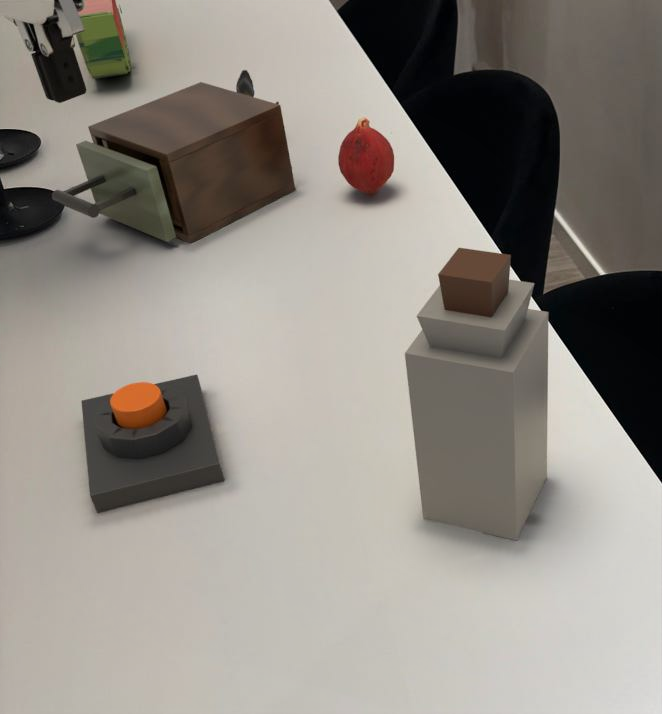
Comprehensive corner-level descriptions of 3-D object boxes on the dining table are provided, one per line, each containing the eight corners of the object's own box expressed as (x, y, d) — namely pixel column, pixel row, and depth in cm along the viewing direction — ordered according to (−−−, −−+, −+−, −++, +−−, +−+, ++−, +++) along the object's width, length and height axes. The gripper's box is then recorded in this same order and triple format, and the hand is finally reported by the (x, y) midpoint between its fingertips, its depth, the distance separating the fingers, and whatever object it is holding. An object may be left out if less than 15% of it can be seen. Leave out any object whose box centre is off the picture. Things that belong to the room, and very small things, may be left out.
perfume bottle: (516, 540, 64) (511, 303, 52) (423, 519, 66) (397, 285, 54) (546, 477, 69) (549, 244, 56) (458, 458, 71) (442, 230, 58)
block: (88, 417, 76) (73, 381, 74) (202, 391, 78) (191, 355, 76) (97, 513, 68) (81, 476, 66) (224, 481, 70) (213, 443, 68)
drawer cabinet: (190, 243, 97) (166, 154, 91) (115, 212, 103) (87, 126, 97) (295, 189, 105) (280, 104, 99) (220, 163, 111) (201, 81, 105)
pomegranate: (384, 209, 101) (375, 132, 95) (334, 203, 102) (323, 127, 97) (405, 185, 105) (398, 110, 99) (357, 180, 106) (347, 106, 101)
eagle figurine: (299, 125, 115) (266, 89, 120) (263, 84, 109) (230, 48, 114) (254, 170, 116) (223, 133, 121) (215, 132, 110) (184, 95, 115)
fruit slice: (88, 41, 146) (65, -33, 139) (130, 35, 147) (110, -38, 140) (92, 100, 128) (66, 19, 121) (140, 93, 129) (117, 12, 122)
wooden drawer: (120, 265, 92) (96, 192, 87) (52, 234, 98) (25, 164, 93) (268, 191, 103) (254, 123, 98) (199, 167, 108) (182, 101, 103)
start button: (115, 407, 72) (108, 388, 71) (164, 396, 73) (157, 377, 71) (118, 435, 69) (111, 416, 68) (169, 423, 70) (163, 404, 69)
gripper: (-108, -144, 76) (-15, 94, 89) (-5, -130, 69) (81, 127, 82) (-22, -161, 80) (55, 69, 93) (83, -149, 73) (152, 99, 86)
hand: (67, 96), depth 87 cm, fingers closed
